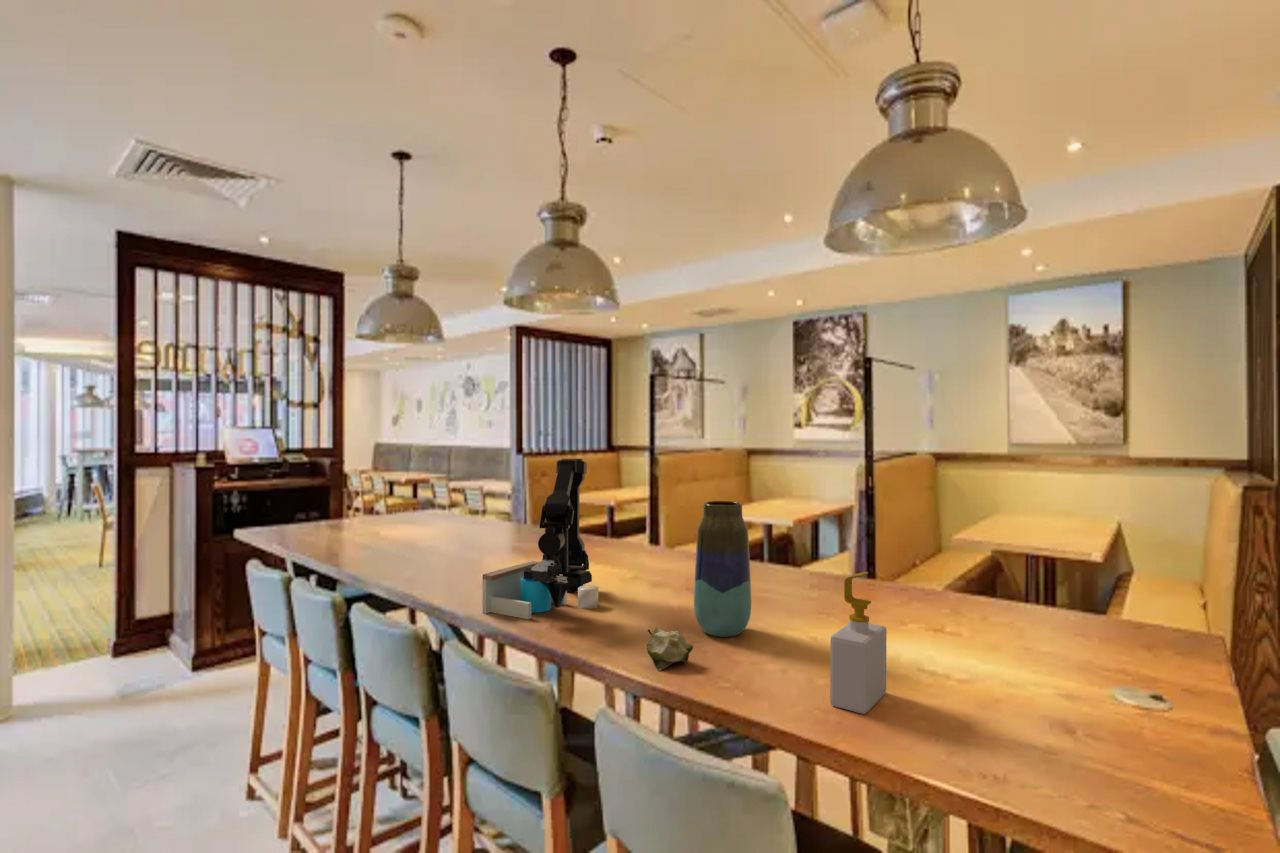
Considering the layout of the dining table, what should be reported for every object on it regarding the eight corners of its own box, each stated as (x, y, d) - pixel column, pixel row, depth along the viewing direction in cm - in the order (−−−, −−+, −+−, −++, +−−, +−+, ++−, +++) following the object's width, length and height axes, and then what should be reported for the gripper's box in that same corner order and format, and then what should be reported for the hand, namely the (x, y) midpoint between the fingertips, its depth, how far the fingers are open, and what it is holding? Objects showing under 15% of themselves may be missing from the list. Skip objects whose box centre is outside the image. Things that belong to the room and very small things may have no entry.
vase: (682, 632, 159) (682, 503, 158) (716, 619, 169) (716, 498, 168) (729, 645, 149) (729, 508, 149) (762, 631, 159) (762, 502, 159)
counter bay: (531, 595, 192) (531, 560, 192) (570, 602, 185) (570, 566, 184) (482, 612, 174) (482, 574, 174) (523, 621, 167) (523, 581, 167)
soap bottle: (865, 716, 113) (866, 581, 113) (828, 706, 117) (829, 575, 117) (887, 693, 123) (888, 568, 123) (852, 684, 127) (853, 564, 127)
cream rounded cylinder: (585, 602, 185) (585, 584, 185) (602, 604, 182) (602, 586, 182) (574, 606, 180) (573, 588, 180) (590, 609, 178) (590, 591, 178)
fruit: (639, 666, 140) (639, 627, 142) (677, 663, 144) (677, 625, 146) (658, 673, 132) (658, 631, 133) (699, 669, 136) (698, 629, 137)
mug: (555, 610, 177) (555, 579, 177) (526, 614, 173) (526, 582, 173) (539, 600, 187) (539, 571, 187) (511, 603, 183) (512, 574, 183)
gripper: (509, 550, 172) (510, 609, 172) (567, 556, 163) (567, 619, 162) (536, 543, 182) (536, 600, 181) (592, 549, 172) (593, 609, 172)
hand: (557, 607), depth 174 cm, fingers closed
